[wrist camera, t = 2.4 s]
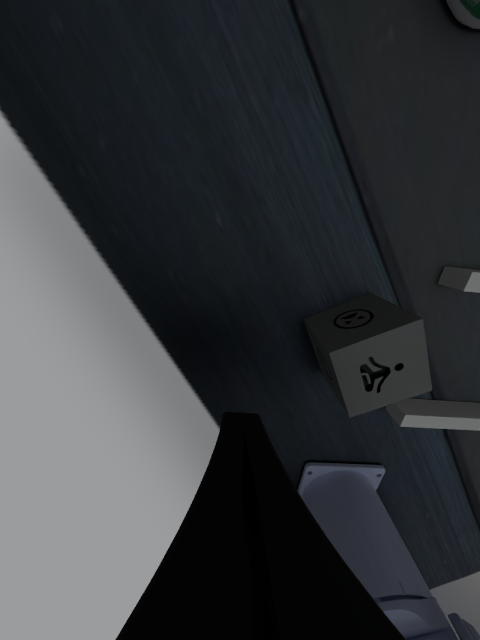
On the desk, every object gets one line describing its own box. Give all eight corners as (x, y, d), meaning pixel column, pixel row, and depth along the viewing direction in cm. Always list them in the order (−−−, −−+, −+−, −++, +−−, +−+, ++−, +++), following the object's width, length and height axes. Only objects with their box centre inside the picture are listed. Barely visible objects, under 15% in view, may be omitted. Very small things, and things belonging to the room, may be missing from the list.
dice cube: (302, 318, 17) (329, 352, 13) (369, 292, 17) (422, 318, 12) (320, 370, 19) (349, 417, 14) (381, 349, 18) (432, 390, 14)
